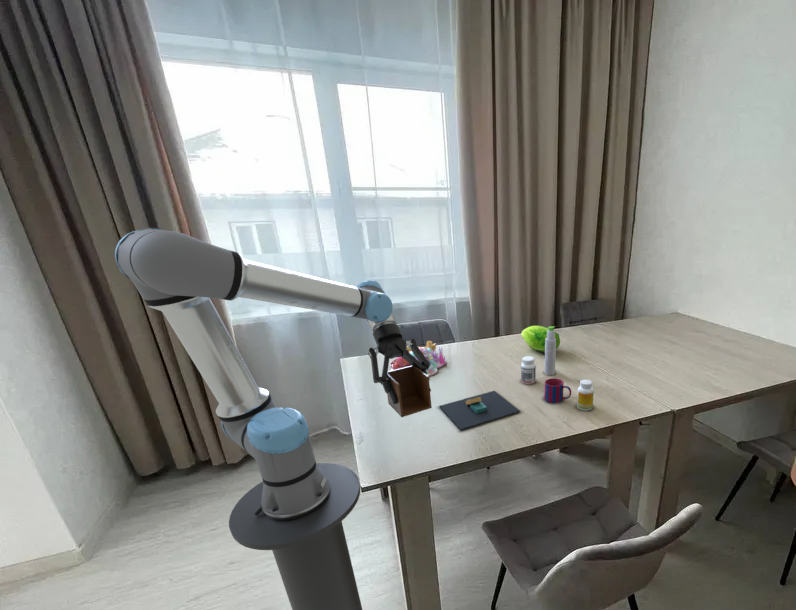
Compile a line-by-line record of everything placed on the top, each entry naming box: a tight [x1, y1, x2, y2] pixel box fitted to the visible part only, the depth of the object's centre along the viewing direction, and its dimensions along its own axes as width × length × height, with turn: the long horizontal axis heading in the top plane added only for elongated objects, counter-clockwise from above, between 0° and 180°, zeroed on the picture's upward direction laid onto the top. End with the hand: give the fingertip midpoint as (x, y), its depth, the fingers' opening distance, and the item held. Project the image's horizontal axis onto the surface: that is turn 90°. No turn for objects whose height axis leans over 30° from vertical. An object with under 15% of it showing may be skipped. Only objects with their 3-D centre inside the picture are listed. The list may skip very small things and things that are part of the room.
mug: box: [543, 377, 572, 404], centre depth 142 cm, size 7×10×7 cm
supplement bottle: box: [576, 379, 595, 411], centre depth 137 cm, size 5×5×10 cm
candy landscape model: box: [390, 340, 446, 377], centre depth 171 cm, size 25×24×9 cm
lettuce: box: [520, 325, 561, 353], centre depth 188 cm, size 13×23×12 cm, turn 41°
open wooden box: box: [386, 366, 433, 418], centre depth 113 cm, size 10×9×10 cm
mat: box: [438, 390, 521, 432], centre depth 137 cm, size 22×18×1 cm
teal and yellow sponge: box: [470, 401, 487, 413], centre depth 137 cm, size 5×4×1 cm
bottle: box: [544, 325, 557, 376], centre depth 161 cm, size 4×4×20 cm
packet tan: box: [465, 397, 482, 405], centre depth 138 cm, size 5×4×1 cm
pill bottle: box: [520, 355, 537, 385], centre depth 156 cm, size 6×6×10 cm
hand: (412, 397), depth 111 cm, fingers closed on open wooden box, 9 cm apart
